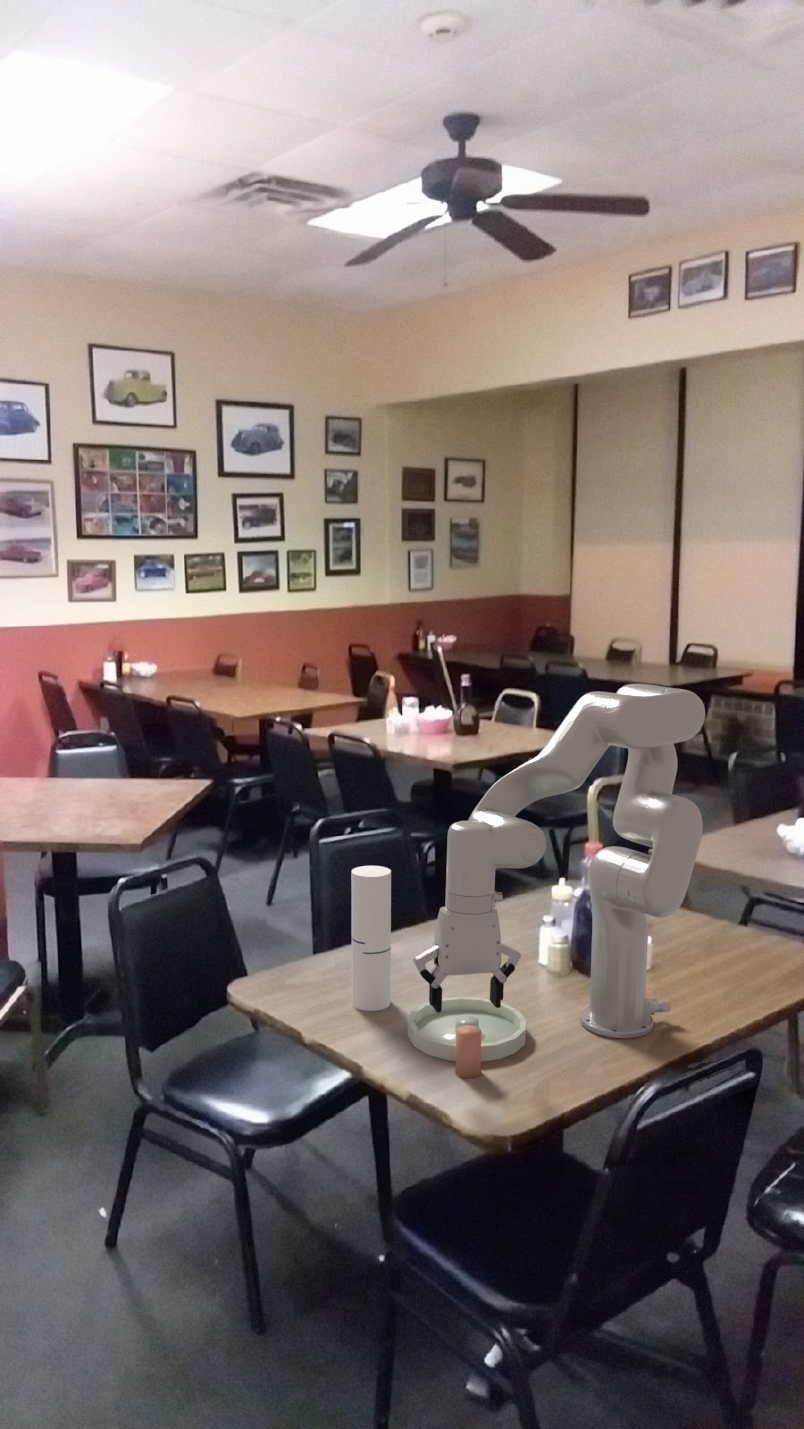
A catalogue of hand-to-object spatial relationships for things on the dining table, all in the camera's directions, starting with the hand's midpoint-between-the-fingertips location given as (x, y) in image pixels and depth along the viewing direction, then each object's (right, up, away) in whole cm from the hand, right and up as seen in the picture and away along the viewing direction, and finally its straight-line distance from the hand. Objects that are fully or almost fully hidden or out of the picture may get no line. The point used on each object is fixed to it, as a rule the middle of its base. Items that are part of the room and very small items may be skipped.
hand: (466, 1006), depth 168 cm
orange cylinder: (0, -11, +2) cm, 11 cm away
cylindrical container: (-16, -7, +28) cm, 33 cm away
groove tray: (+1, -9, +15) cm, 18 cm away
